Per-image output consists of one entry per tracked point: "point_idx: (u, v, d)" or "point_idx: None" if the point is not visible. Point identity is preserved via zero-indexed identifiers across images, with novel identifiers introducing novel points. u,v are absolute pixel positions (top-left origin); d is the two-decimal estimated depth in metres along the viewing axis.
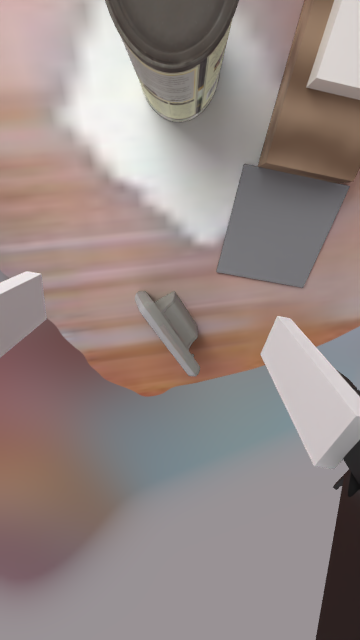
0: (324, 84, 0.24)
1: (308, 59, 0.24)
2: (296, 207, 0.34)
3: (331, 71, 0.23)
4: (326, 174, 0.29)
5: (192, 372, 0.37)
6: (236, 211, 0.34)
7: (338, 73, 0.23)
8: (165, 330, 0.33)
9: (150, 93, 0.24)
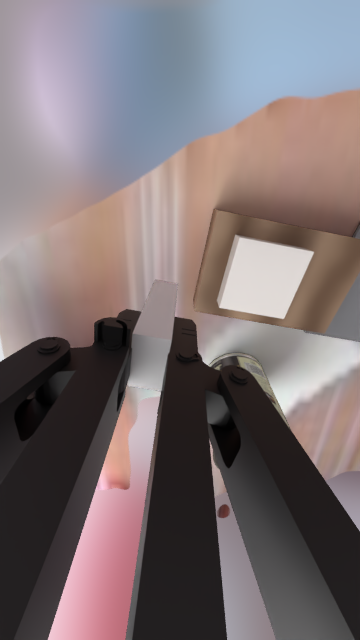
0: None
1: None
2: None
3: (282, 308, 0.26)
4: (356, 275, 0.26)
5: None
6: (344, 335, 0.34)
7: (285, 302, 0.26)
8: None
9: None
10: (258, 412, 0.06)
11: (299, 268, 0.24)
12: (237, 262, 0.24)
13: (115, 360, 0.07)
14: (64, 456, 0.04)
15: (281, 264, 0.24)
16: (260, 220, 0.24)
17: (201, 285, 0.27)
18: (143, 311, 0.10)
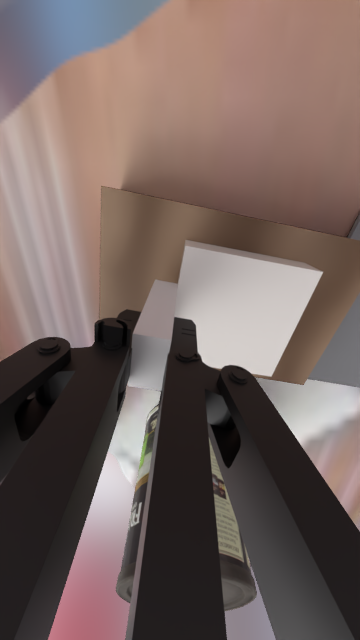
0: None
1: None
2: None
3: (269, 361, 0.16)
4: (352, 300, 0.16)
5: None
6: (335, 378, 0.24)
7: (272, 353, 0.15)
8: None
9: None
10: (258, 412, 0.06)
11: (296, 300, 0.13)
12: (186, 289, 0.13)
13: (115, 360, 0.07)
14: (64, 456, 0.04)
15: (263, 293, 0.13)
16: (180, 205, 0.13)
17: (101, 313, 0.17)
18: (143, 311, 0.10)
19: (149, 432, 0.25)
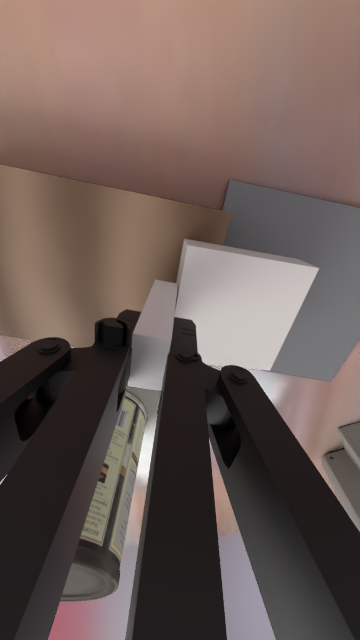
0: None
1: (75, 334, 0.18)
2: None
3: (267, 356, 0.16)
4: None
5: None
6: None
7: (271, 347, 0.16)
8: None
9: None
10: (258, 412, 0.06)
11: (294, 295, 0.14)
12: (188, 289, 0.13)
13: (115, 360, 0.07)
14: (63, 456, 0.04)
15: (263, 291, 0.14)
16: (4, 168, 0.13)
17: None
18: (143, 311, 0.10)
19: None
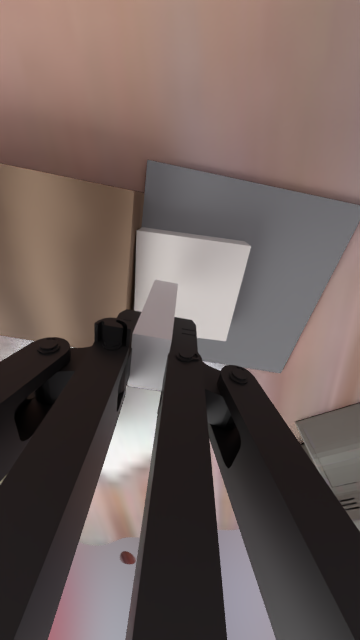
0: None
1: None
2: None
3: (221, 327, 0.18)
4: (127, 256, 0.15)
5: None
6: None
7: (223, 319, 0.18)
8: None
9: None
10: (258, 412, 0.06)
11: (233, 271, 0.16)
12: (142, 267, 0.16)
13: (115, 360, 0.07)
14: (64, 456, 0.04)
15: (206, 267, 0.16)
16: None
17: None
18: (143, 311, 0.10)
19: None
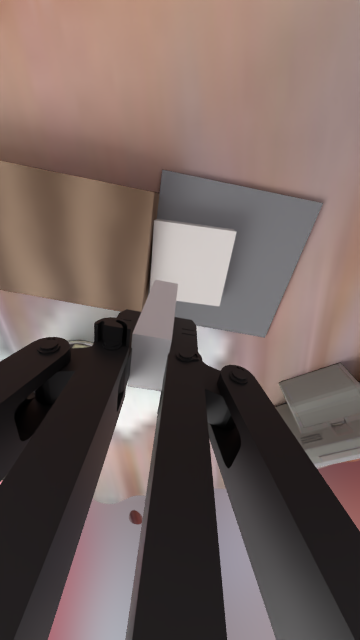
0: None
1: (52, 288, 0.23)
2: None
3: (215, 294, 0.24)
4: (147, 238, 0.21)
5: None
6: (192, 320, 0.29)
7: (217, 288, 0.24)
8: (330, 457, 0.25)
9: None
10: (258, 412, 0.06)
11: (224, 250, 0.22)
12: (157, 247, 0.22)
13: (115, 360, 0.07)
14: (63, 457, 0.04)
15: (204, 247, 0.22)
16: None
17: None
18: (143, 311, 0.10)
19: None
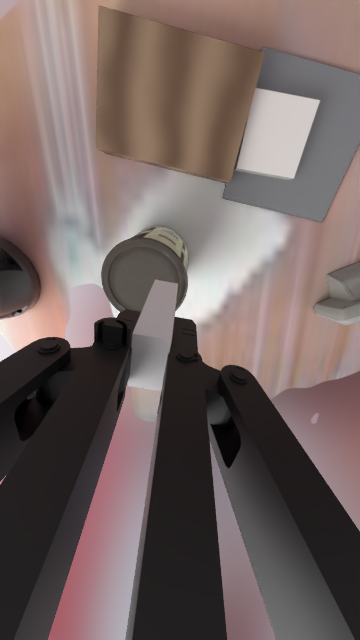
0: None
1: (160, 151, 0.28)
2: None
3: (292, 165, 0.29)
4: (251, 99, 0.26)
5: None
6: (262, 202, 0.34)
7: (294, 159, 0.29)
8: None
9: None
10: (258, 412, 0.06)
11: (307, 119, 0.27)
12: (252, 115, 0.27)
13: (115, 360, 0.07)
14: (64, 457, 0.04)
15: (291, 116, 0.27)
16: (143, 20, 0.23)
17: (97, 111, 0.27)
18: (143, 311, 0.10)
19: None
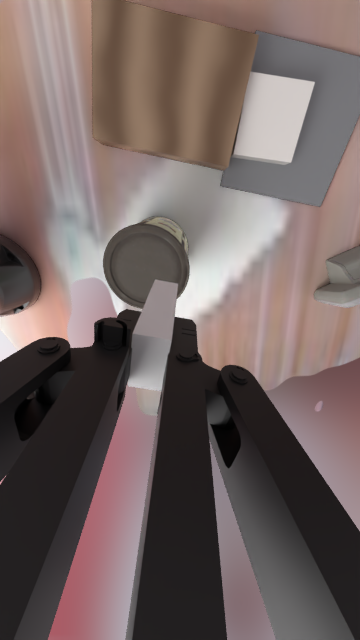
0: None
1: (157, 139, 0.28)
2: None
3: (289, 149, 0.30)
4: (246, 82, 0.26)
5: None
6: (260, 188, 0.34)
7: (291, 142, 0.29)
8: None
9: None
10: (258, 412, 0.06)
11: (302, 102, 0.27)
12: (248, 100, 0.27)
13: (115, 360, 0.07)
14: (64, 456, 0.04)
15: (286, 99, 0.27)
16: (136, 6, 0.23)
17: (93, 100, 0.27)
18: (143, 311, 0.10)
19: None
